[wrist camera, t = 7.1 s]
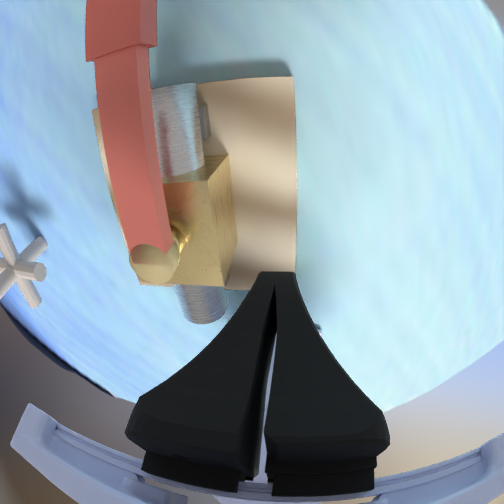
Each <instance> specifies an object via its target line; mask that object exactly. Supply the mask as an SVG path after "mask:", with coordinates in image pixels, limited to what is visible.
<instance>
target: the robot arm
mask: <svg viewBox="0 0 504 504" xmlns="http://www.w3.org/2000/svg"><path fill="white" fill-rule="evenodd" d="M125 434H126V436H127V438H128V439H130V440H131V441H132V442H134V443H135V444H136V445H138V446H139V447H141V448H142V449H144V450H145V451H146V454H145V457H144V460H141V459H138V458H135V457H133V456H130V455H127V454H124V453H122V452H119V451H117V450H114V449H111V448H109V447H107V446H104V445H102V444H100V443H97V442H95V441H93V440H91V439H89V438H86V437H84V436H82V435H80V434H78V433H76V432H74V431H72V430H70V429H68V428H66V427H65V426H63V425H61V424H59V423H57V421H56V420H54V419H53V418H52V417H50V416H49V415H48V414H46V413H45V412H43V411H42V410H40V409H38V408H37V407H35V406H34V405H32V404H31V403H29V404H28V405H27V407H26V410H25V412H24V414H23V416H22V418H21V420H20V423H19V425H18V427H17V429H16V431H15V434H14V436H13V438H12V441H11V444H10V445H11V447H12V448H13V449H15V450H16V451H17V452H18V453H19V454H20V455H21V456H23V457H24V458H25V459H26V460H27V461H28V462H29V463H31V464H32V465H33V466H34V467H35V468H36V469H37V470H38V471H39V472H41V473H42V474H43V475H44V476H45V477H46V478H47V479H49V480H50V481H51V482H52V483H53V484H54V485H56V486H57V487H58V488H59V489H61V490H62V491H63V492H64V493H66V494H67V495H68V496H70V497H71V498H72V499H74V500H75V501H77V502H78V503H79V504H187V501H188V497H187V496H184V495H180V494H177V493H173V492H170V491H167V490H164V489H161V488H158V487H155V486H152V485H149V484H146V482H145V480H144V478H147V479H150V480H153V481H157V482H160V483H163V484H167V485H170V486H174V487H178V488H182V489H186V490H190V491H195V492H199V493H204V494H209V495H214V497H215V498H216V499H217V500H218V501H219V502H220V503H222V504H320V503H321V502H327V501H339V500H348V499H356V498H363V497H369V496H376V495H377V496H376V497H374V499H373V500H372V501H371V502H367V503H361V504H487V503H489V502H490V501H492V500H493V499H495V498H497V497H498V496H499V495H501V494H503V493H504V433H502V434H500V435H498V436H497V437H495V438H493V439H491V440H489V441H488V442H486V443H485V444H483V445H482V446H481V447H479V448H477V449H475V450H472V451H470V452H468V453H465V454H462V455H460V456H457V457H454V458H452V459H449V460H446V461H443V462H440V463H437V464H433V465H430V466H427V467H423V468H420V469H416V470H412V471H408V472H404V473H400V474H395V475H390V476H385V477H379V478H374V468H376V466H377V460H376V459H377V458H376V456H378V455H379V454H380V453H382V452H383V451H384V450H386V448H387V447H388V446H389V445H390V435H389V431H388V427H387V423H386V420H385V417H384V415H383V412H382V411H381V410H380V409H379V408H378V407H377V406H376V405H375V404H374V403H373V402H372V401H371V400H370V399H369V398H368V397H367V396H366V395H365V394H364V393H363V392H362V390H361V389H360V388H359V387H358V386H357V385H356V384H355V383H354V381H353V380H352V379H351V378H350V377H349V375H348V374H347V373H346V372H345V370H344V369H343V368H342V366H341V365H340V364H339V363H338V361H337V360H336V359H335V357H334V356H333V354H332V353H331V351H330V350H329V348H328V347H327V345H326V344H325V342H324V340H323V339H322V331H321V330H318V329H317V328H316V326H315V325H314V323H313V321H312V319H311V317H310V315H309V313H308V310H307V308H306V306H305V304H304V301H303V299H302V296H301V293H300V291H299V288H298V284H297V280H296V274H295V273H294V272H284V271H261V272H260V273H259V274H258V276H257V278H256V280H255V282H254V284H253V286H252V287H251V289H250V291H249V293H248V294H247V296H246V297H245V299H244V300H243V302H242V304H241V305H240V307H239V308H238V310H237V311H236V312H235V314H234V315H233V316H232V318H231V319H230V320H229V322H228V323H227V324H226V325H225V327H224V328H223V329H222V330H221V331H220V333H219V334H218V335H217V336H216V337H215V338H214V339H213V340H212V341H211V342H210V343H209V344H208V345H207V346H206V347H205V348H204V349H203V350H202V351H201V352H200V353H199V354H198V355H197V356H196V357H195V358H194V359H193V360H191V361H190V362H189V363H188V364H187V365H185V366H184V367H183V368H181V369H180V370H179V371H178V372H176V373H175V374H174V375H172V376H171V377H170V378H168V379H167V380H166V381H164V382H163V383H161V384H159V385H158V386H156V387H155V388H153V389H152V390H150V391H148V392H147V393H145V394H143V395H142V396H140V397H139V399H138V401H137V403H136V405H135V407H134V409H133V411H132V413H131V416H130V419H129V422H128V424H127V427H126V430H125ZM143 477H144V478H143Z"/></svg>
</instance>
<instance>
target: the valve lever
mask: <svg viewBox="0 0 504 504" xmlns="http://www.w3.org/2000/svg"><path fill="white" fill-rule="evenodd" d="M155 46H157V0H87V3H86V25H85V48H86V62H89V61H94V62H95V78H96V90H97V100H98V109H99V117H100V124H101V131H102V137H103V143H104V149H105V155H106V160H107V165H108V170H109V175H110V180H111V184H112V189H113V193H114V197H115V201H116V205H117V209H118V213H119V217H120V221H121V224H122V228H123V232H124V235H125V239H126V242H127V245H128V249H129V252H130V253H129V262H130V265H131V267H132V269H133V270H134V271H135V273H136V274H137V275H138V276H139V277H141V278H142V279H144V280H146V281H148V282H150V283H155V284H162V283H165V282H167V281H169V280H170V279H171V277H172V275H173V273H174V271H175V270H176V268H177V266H178V264H179V261H180V254H179V251H178V249H177V247H176V245H175V244H174V243H173V238H172V234H171V229H170V223H169V218H168V213H167V207H166V202H165V196H164V190H163V184H162V178H161V172H160V165H159V158H158V151H157V143H156V135H155V127H154V118H153V108H152V97H151V85H150V71H149V52H148V48H151V47H155Z"/></svg>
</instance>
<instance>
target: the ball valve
mask: <svg viewBox="0 0 504 504" xmlns="http://www.w3.org/2000/svg"><path fill="white" fill-rule="evenodd" d="M151 97H152V108H153V118H154V127H155V135H156V143H157V151H158V158H159V165H160V172H161V178H162V184H163V190H164V196H165V202H166V207H167V213H168V218H169V223H170V229H171V234H172V238H173V243H174V244H175V245H176V247H177V249H178V251H179V254H180V261H179V264H178V266H177V268H176V270H175V271H174V273H173V275H172V277H171V279H170V280H169V281H167V282H165V284H174V287H175V290H176V293H177V297H178V300H179V303H180V306H181V309H182V312H183V314H184V316H185V318H186V319H187V320H188V321H190V322H192V323H196V324H208V323H211V322H214V321H216V320H218V319H219V318H221V317H222V316H223V315H224V313H225V312H226V309H227V301H226V295H225V289H224V286H227V283H228V280H229V276H230V275H229V268H230V265H231V262H232V258H233V255H234V252H235V249H236V245H237V242H238V237H237V228H236V219H235V210H234V201H233V191H232V182H231V172H230V162H229V154H225V155H211V156H204V152H203V144H202V140H206V139H207V138H209V137H210V136H211V131H210V122H209V112H208V105H207V106H200V107H198V101H197V92H196V83H183V84H176V85H169V86H164V87H159V88H154V89H151ZM111 192H112V196H113V200H114V203H115V207H116V210H117V213H118V209H117V205H116V201H115V197H114V193H113V189H111ZM118 217H119V213H118ZM119 220H120V217H119ZM120 223H121V221H120ZM121 227H122V224H121ZM122 230H123V228H122ZM123 233H124V232H123ZM124 236H125V235H124ZM139 278H140V281H141V282H148V281H146V280H144V279H142V278H141V277H139ZM149 283H150V282H149Z"/></svg>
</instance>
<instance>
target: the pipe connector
mask: <svg viewBox="0 0 504 504" xmlns="http://www.w3.org/2000/svg"><path fill="white" fill-rule="evenodd" d="M46 249H47V242H46V240H45V239H44V238H43V237H42V236H38V237H37V238H36V239H35V240H34V241H33V242H32V243H31V244H30V245H29V246H28V247H27V248H25V249H24V250H23V251H22V252H21V253H20V254H18V252H17V250H16V248H15V245H14V243H13V241H12V238H11V236H10V234H9V231H8V228H7V226H6V223H3V224H1V225H0V250H1V253H2V255H3V257H4V258H0V273H1V274H0V299H1V298H2V297H3V295H4V294H5V293H6V292H7V291H8V289H9V288H10V287H11V286H12V285H13V284H14V282H15V281H16V283H17V284H18V286H19V288H20V290H21V291H22V293H23V295H24V297H25V298H26V300H27V302H28V303H29V305H30V307H32V308H35V307H37V306H39V305H40V303H41V301H42V299H41V297H40V295H39V293H38V292H37V290H36V288H35V286H34V284H33V283H32V281H31V280H34V281H40V282H41V281H43V280H44V279H45V277H46V267H45V266H44V264H43V263H37V262H34V261H35V260H36V259H37V258H38V257H39V256H40V255H41V254H42V253H43V252H44V251H45V250H46Z"/></svg>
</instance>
